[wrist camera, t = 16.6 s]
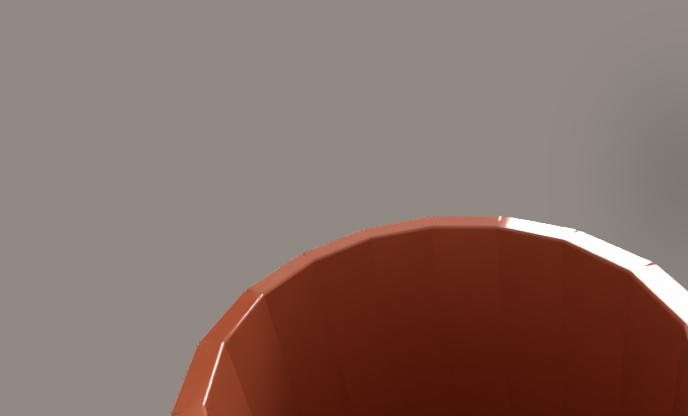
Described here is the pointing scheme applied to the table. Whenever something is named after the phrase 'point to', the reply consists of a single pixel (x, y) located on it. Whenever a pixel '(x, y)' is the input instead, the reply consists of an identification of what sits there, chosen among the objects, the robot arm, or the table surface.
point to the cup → (450, 328)
